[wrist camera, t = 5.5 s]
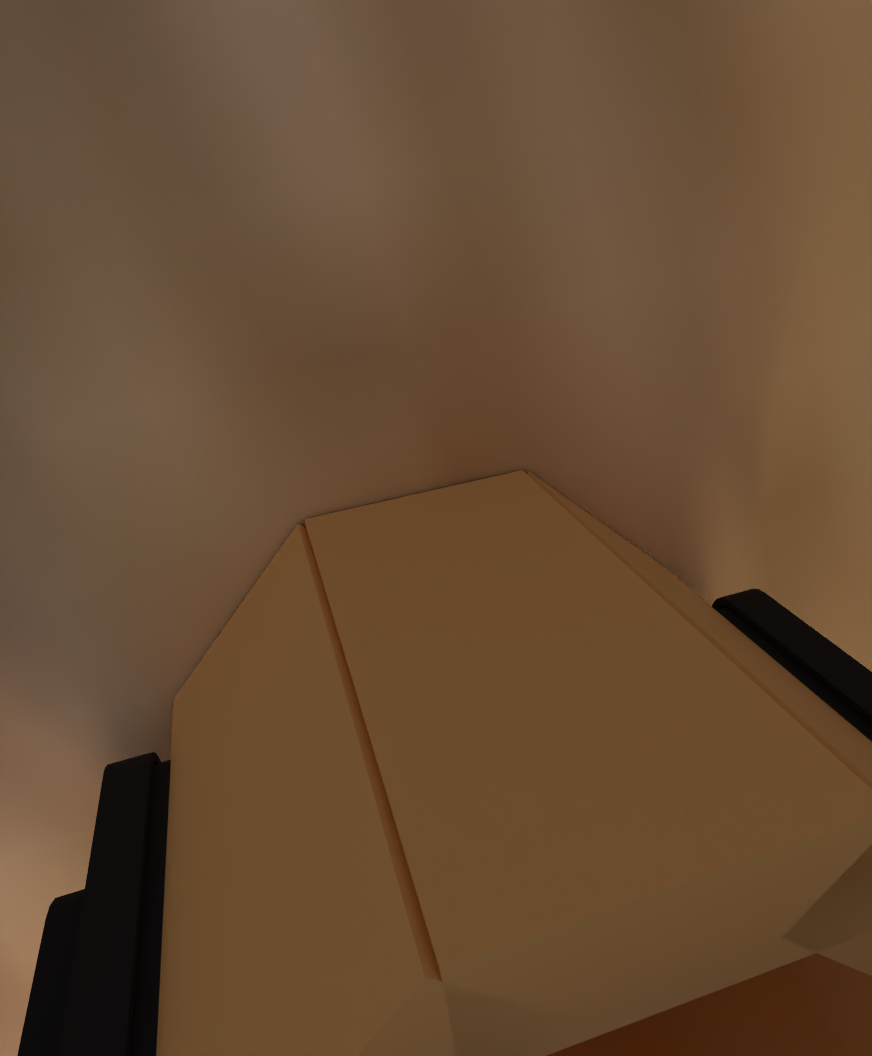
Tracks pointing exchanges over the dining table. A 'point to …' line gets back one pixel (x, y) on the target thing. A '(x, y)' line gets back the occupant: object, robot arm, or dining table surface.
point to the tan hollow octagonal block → (506, 806)
